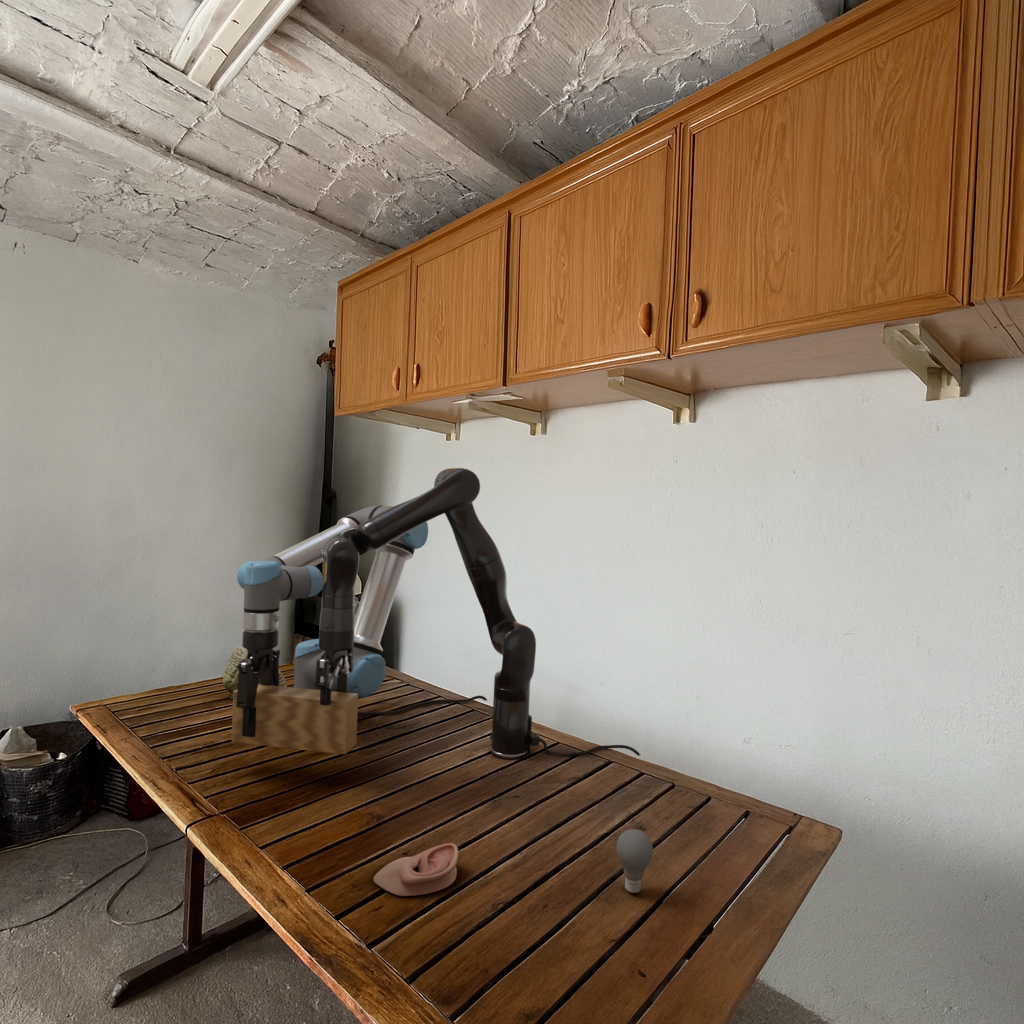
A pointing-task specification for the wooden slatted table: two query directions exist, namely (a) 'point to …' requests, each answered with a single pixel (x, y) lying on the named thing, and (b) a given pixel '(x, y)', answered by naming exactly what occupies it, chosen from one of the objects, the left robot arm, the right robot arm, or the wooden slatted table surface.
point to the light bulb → (634, 857)
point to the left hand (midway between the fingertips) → (257, 730)
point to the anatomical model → (420, 872)
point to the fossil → (233, 673)
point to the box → (300, 720)
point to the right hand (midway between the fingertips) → (333, 699)
